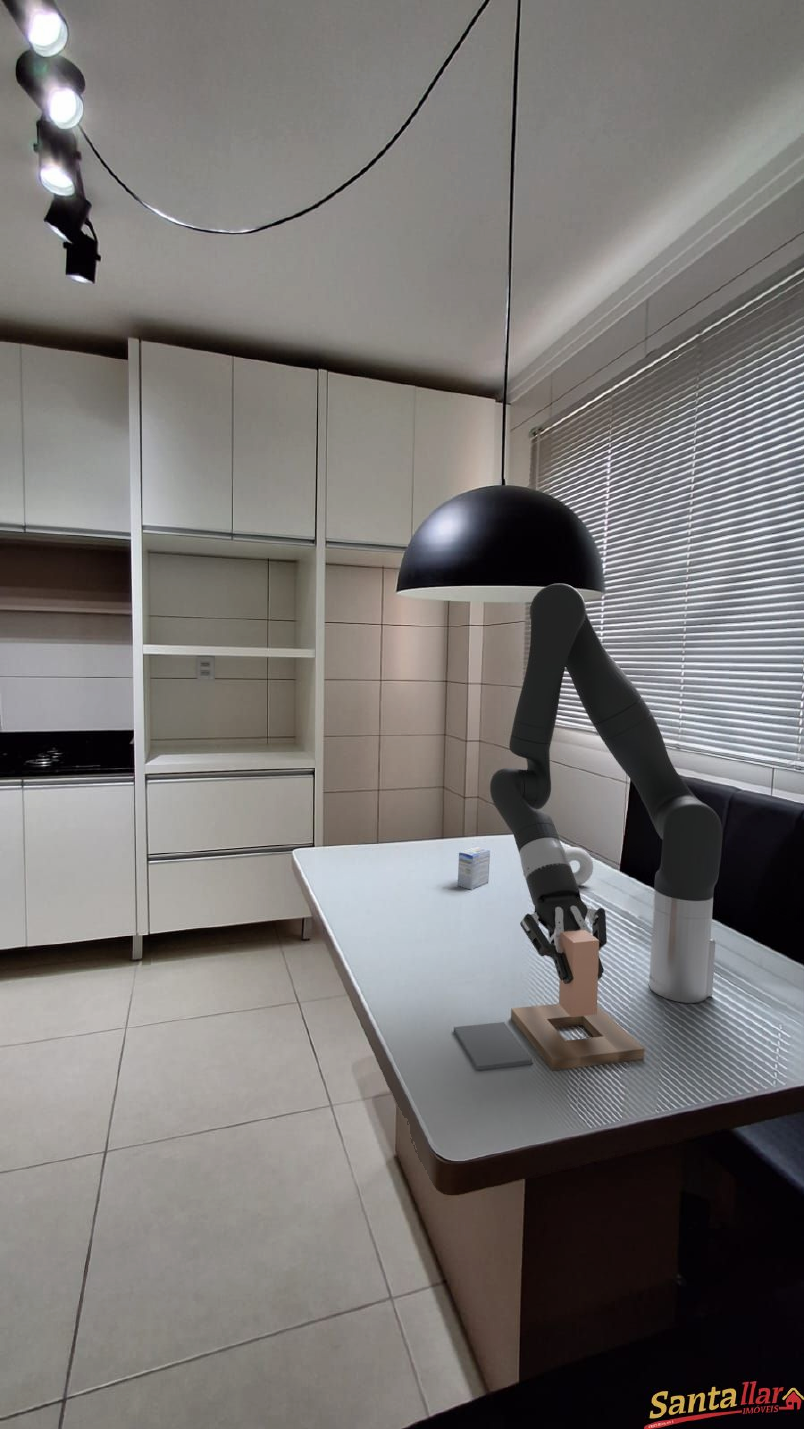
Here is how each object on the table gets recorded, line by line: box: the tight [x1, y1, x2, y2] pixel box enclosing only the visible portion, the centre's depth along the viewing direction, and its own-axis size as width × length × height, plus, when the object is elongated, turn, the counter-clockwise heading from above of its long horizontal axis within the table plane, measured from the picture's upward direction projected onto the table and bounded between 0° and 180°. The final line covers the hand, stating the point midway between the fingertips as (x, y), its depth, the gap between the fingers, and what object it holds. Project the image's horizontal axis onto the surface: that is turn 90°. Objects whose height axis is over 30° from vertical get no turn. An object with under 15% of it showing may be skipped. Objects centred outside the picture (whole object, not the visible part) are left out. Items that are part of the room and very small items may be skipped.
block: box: [558, 930, 600, 1017], centre depth 98 cm, size 4×4×11 cm
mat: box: [453, 1021, 534, 1072], centre depth 95 cm, size 8×10×1 cm
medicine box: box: [457, 846, 491, 890], centre depth 168 cm, size 8×4×9 cm, turn 141°
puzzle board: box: [510, 1003, 645, 1072], centre depth 98 cm, size 14×14×2 cm
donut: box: [563, 846, 594, 887], centre depth 170 cm, size 10×4×10 cm, turn 92°
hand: (583, 979), depth 97 cm, fingers closed on block, 4 cm apart
